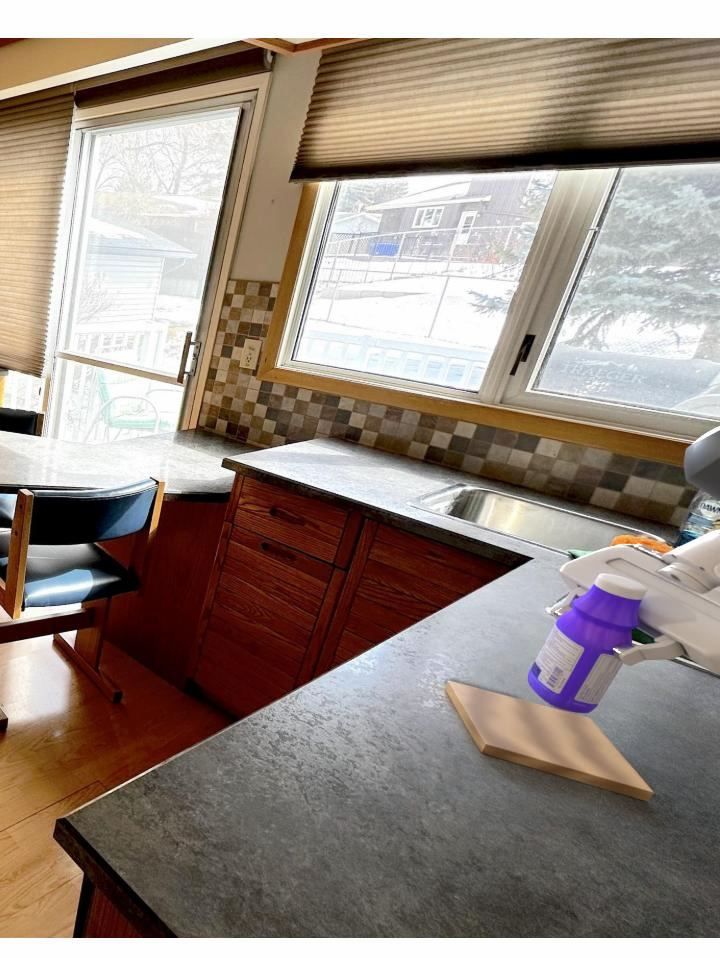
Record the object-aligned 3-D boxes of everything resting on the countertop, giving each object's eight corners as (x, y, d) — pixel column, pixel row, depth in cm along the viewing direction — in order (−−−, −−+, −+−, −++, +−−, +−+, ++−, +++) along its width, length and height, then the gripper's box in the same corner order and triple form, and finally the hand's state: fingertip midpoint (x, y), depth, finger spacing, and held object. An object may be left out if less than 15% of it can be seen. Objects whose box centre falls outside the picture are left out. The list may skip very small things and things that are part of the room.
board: (584, 726, 84) (589, 717, 84) (648, 802, 72) (654, 792, 72) (444, 688, 90) (448, 680, 89) (481, 753, 78) (486, 744, 77)
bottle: (602, 723, 75) (677, 601, 68) (545, 709, 76) (613, 589, 70) (567, 687, 81) (632, 572, 75) (514, 675, 83) (574, 562, 76)
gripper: (621, 522, 80) (509, 577, 84) (815, 605, 61) (657, 671, 65) (641, 556, 81) (530, 609, 85) (837, 648, 62) (681, 710, 67)
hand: (586, 637), depth 75 cm, fingers closed on bottle, 7 cm apart
